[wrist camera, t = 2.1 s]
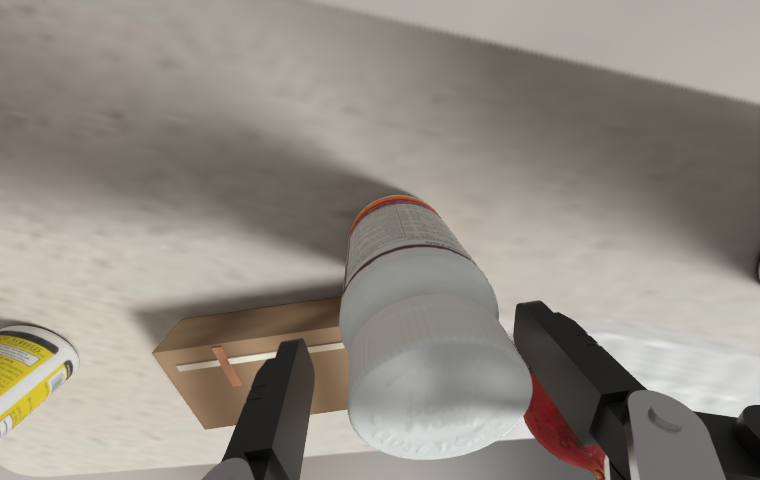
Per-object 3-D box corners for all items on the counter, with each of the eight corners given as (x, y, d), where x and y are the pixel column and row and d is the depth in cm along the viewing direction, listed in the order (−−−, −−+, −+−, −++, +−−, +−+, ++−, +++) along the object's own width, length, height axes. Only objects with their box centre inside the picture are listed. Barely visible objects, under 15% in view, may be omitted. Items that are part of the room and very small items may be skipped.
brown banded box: (457, 280, 19) (473, 308, 16) (457, 358, 23) (471, 393, 20) (181, 319, 19) (150, 354, 16) (223, 391, 23) (204, 430, 20)
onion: (492, 368, 23) (550, 482, 16) (554, 336, 22) (646, 443, 15) (519, 400, 26) (580, 513, 18) (576, 373, 24) (666, 482, 17)
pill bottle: (423, 285, 19) (492, 479, 9) (339, 267, 18) (309, 463, 8) (457, 205, 17) (603, 348, 7) (361, 179, 16) (360, 301, 6)
